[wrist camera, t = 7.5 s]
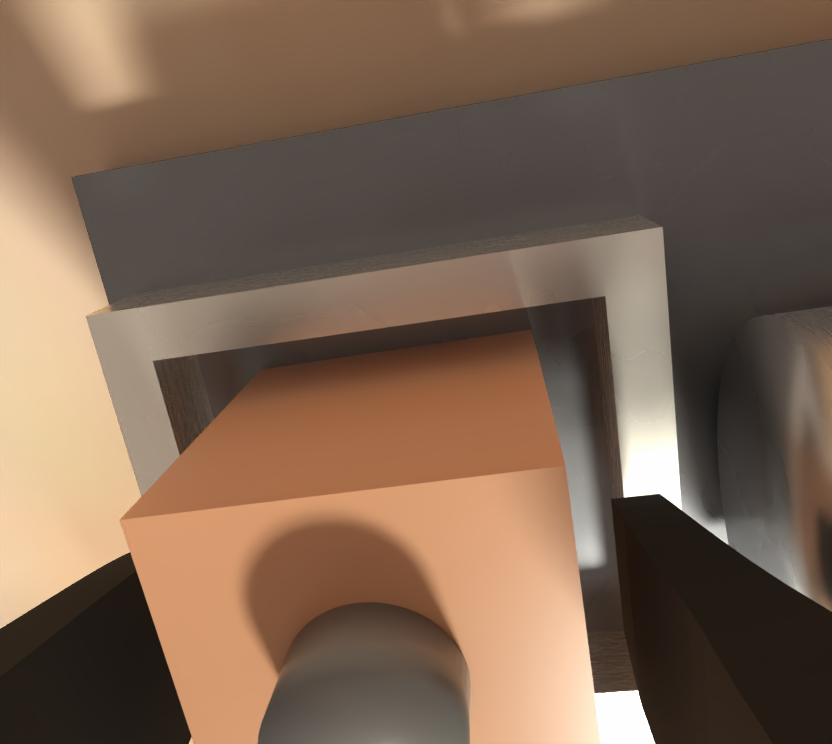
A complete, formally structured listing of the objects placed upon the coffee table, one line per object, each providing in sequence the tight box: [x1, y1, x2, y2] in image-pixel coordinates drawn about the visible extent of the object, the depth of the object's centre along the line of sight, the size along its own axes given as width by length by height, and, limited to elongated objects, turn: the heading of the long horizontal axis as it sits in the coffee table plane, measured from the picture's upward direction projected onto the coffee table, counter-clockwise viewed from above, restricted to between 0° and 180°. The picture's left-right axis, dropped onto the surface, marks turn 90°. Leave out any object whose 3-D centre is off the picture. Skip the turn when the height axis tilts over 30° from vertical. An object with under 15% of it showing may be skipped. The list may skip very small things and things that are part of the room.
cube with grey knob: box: [120, 329, 601, 744], centre depth 10 cm, size 4×4×6 cm
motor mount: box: [71, 39, 832, 744], centre depth 9 cm, size 20×12×7 cm, turn 100°
